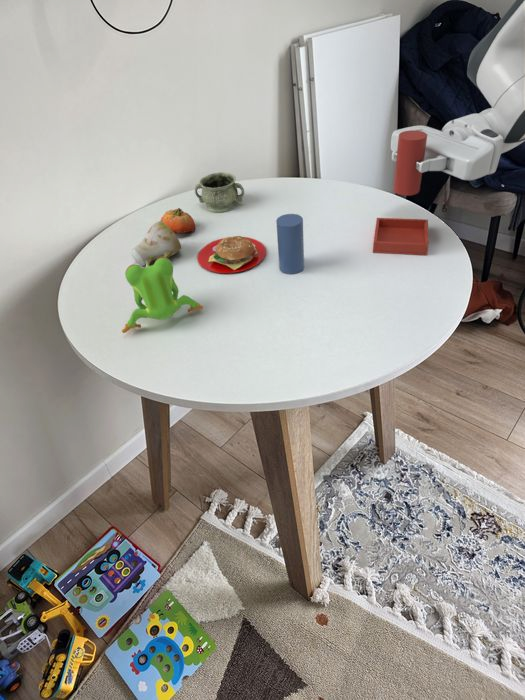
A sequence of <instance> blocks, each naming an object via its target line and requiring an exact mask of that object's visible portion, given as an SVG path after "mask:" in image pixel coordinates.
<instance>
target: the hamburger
mask: <svg viewBox="0 0 525 700" xmlns="http://www.w3.org/2000/svg"><path fill="white" fill-rule="evenodd" d="M266 253H267V248H266V247H265V245H264V243H262V242H261V241H260V240H257V239H255V238H252V237H249V236H248V237H247V236H242V235H234V236H227V237H222V238H219V239H216V240H213V241H211V242H209V243H207V244H206V245H205V246H203V247H202V248H201V249H200V250H199V252H198V253H197V263H198V264H199V265H200V266H201V267H202V268H203V269H205V270H207V271H209V272H213V273H219V274H233V273H238V272H245V271H247V270H249V269H252V268H253V267H256V266H257V265H259V264H260V263H261V262H262V261H263V260H264V259H265V257H266V255H267V254H266Z"/></svg>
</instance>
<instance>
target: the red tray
mask: <svg viewBox="0 0 525 700" xmlns="http://www.w3.org/2000/svg"><path fill="white" fill-rule="evenodd" d="M428 251H429V219H425V218H423V219H421V218H400V217H399V218H398V217H397V218H396V217H395V218H394V217H376V221H375V228H374V236H373V244H372V253H373V254H391V255H409V256H410V255H412V256H428Z"/></svg>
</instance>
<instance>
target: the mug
mask: <svg viewBox="0 0 525 700" xmlns="http://www.w3.org/2000/svg"><path fill="white" fill-rule="evenodd" d="M180 250H182V244H181V242H180V240H179V238H178V237H177V236H176V233H173V231H172V230H171V229H170V228H169V227H168V225H167V224H166V223H164V222H163V221H161V220H159V221H157V222H155V223H154V224H153V225H152V226H151V227H150V228H149V229H148V231H147V233H146V234H145V235H144V237H143V239H142V240H141V242H140V243H139V244H137V245H136V246H135V247H133V248H132V250H131V252H130V253H131V257H132V259H133V261H134V262H135V263H136V265H139V266H142V267H143V266H144V267H148V266H151V265H150V264H151V263H152V262H153V261H156V260H157V259H158V258H159V257H166V258H168V259H170V257H171V256H174V255H175V254H177V253H179V251H180Z"/></svg>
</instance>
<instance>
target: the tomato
mask: <svg viewBox="0 0 525 700" xmlns="http://www.w3.org/2000/svg"><path fill="white" fill-rule="evenodd" d="M160 221H163V222H164V223H166V224H167V225H168V227H169V228H170V229H171V230H172V231H173V233H174V234H178V233H179V234H180V233H181V234H185V233H189V232H195V231H196V222H195V220H194V218H193V217H192V216H191V215H190V214H189V213H188V212H186V211H184V210H183V209H181V208H180V207H177V208H176V209H169V210H167V211H166V212H164V214H163V215H162V217H161V218H160Z"/></svg>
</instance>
